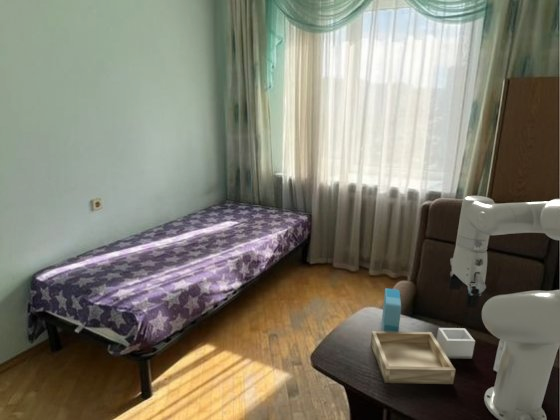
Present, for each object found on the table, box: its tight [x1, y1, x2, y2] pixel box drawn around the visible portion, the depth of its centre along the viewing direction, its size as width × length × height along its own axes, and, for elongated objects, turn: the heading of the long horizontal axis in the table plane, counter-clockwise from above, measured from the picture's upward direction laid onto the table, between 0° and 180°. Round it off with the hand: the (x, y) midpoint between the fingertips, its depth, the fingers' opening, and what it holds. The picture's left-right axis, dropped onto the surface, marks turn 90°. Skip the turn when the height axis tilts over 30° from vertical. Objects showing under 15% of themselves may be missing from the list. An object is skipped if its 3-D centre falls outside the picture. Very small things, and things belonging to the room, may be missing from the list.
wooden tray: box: [370, 330, 456, 385], centre depth 100 cm, size 16×18×4 cm
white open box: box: [436, 327, 476, 360], centre depth 105 cm, size 6×8×6 cm
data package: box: [381, 287, 402, 332], centre depth 115 cm, size 12×4×12 cm, turn 165°
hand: (462, 297), depth 100 cm, fingers open, 9 cm apart
